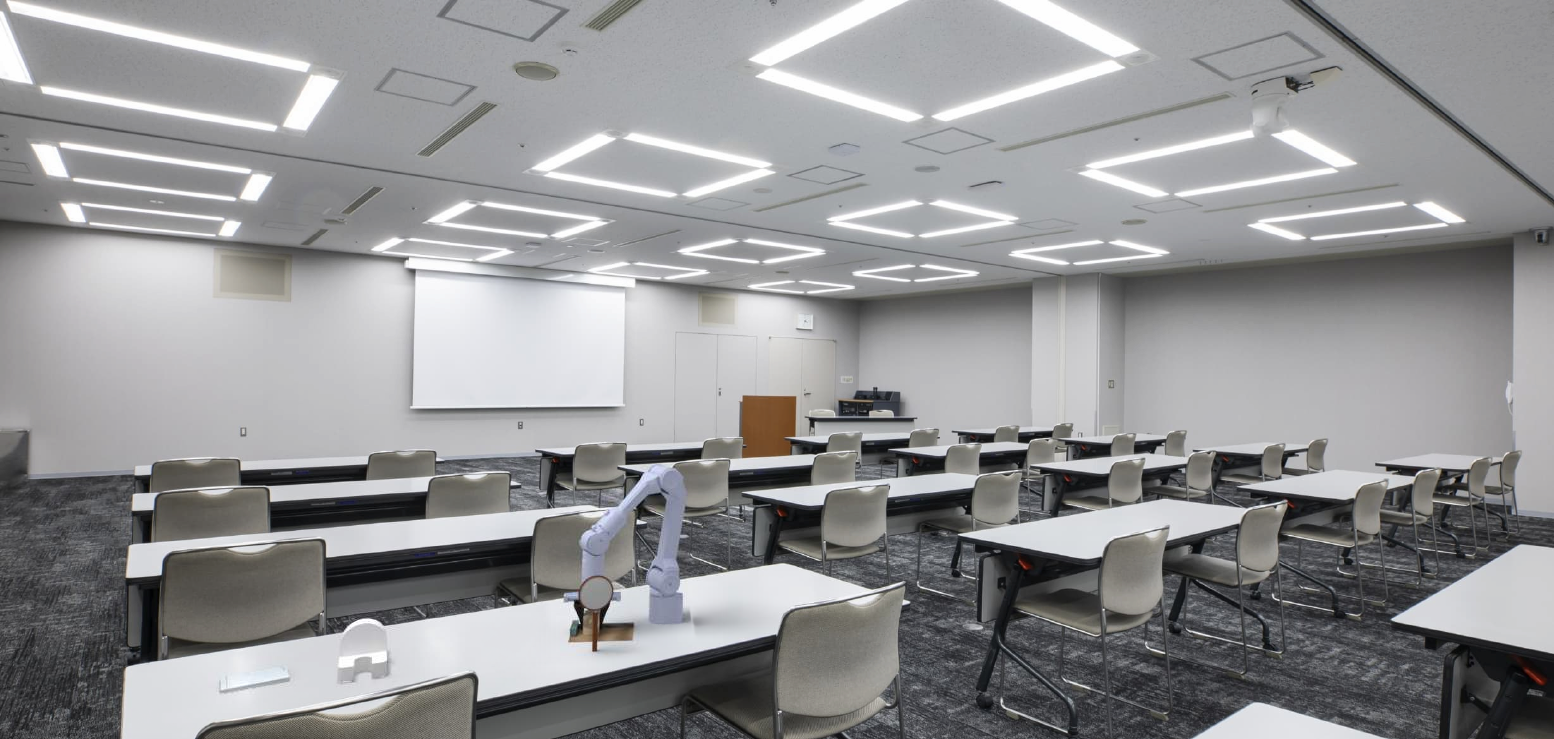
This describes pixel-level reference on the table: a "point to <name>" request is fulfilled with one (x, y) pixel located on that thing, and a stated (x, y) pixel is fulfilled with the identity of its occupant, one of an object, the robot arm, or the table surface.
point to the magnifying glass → (595, 599)
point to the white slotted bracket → (363, 650)
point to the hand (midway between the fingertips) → (591, 628)
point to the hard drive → (254, 679)
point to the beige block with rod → (589, 622)
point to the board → (603, 632)
